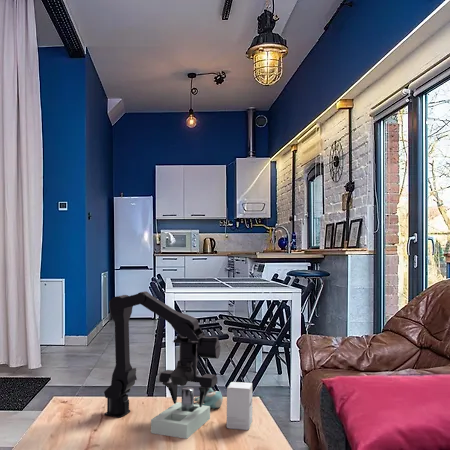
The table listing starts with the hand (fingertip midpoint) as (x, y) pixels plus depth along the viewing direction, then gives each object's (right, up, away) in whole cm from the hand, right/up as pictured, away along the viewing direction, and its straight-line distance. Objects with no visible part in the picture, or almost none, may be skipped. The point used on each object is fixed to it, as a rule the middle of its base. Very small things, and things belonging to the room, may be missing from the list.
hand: (187, 405), depth 157 cm
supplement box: (+17, -5, -4) cm, 18 cm away
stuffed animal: (+6, -6, +15) cm, 17 cm away
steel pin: (0, -4, 0) cm, 4 cm away
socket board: (-2, -5, -4) cm, 7 cm away
